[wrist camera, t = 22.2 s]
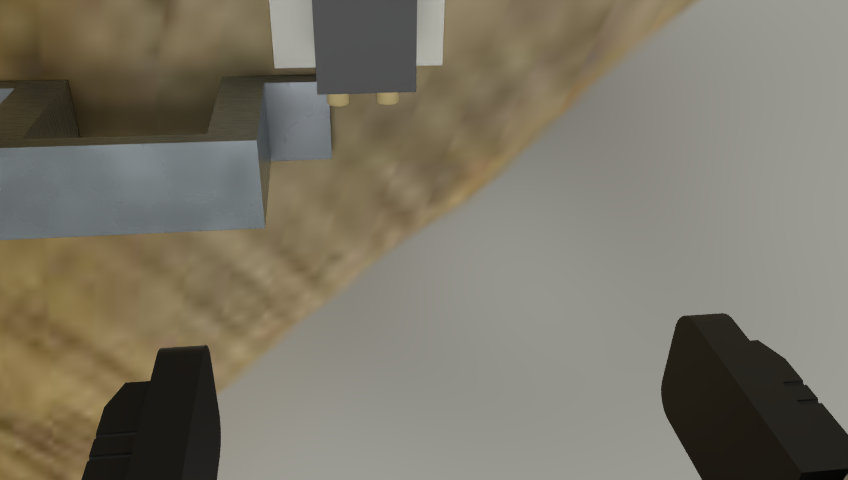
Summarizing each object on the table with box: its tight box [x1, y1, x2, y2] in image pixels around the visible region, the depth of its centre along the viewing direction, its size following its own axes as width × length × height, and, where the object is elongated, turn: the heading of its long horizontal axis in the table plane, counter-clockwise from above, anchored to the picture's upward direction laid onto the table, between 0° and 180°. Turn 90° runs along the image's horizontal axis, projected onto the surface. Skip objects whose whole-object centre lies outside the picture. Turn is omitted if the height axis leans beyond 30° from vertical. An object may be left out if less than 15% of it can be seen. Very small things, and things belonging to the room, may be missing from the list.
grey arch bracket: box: [0, 75, 332, 240], centre depth 34 cm, size 17×4×8 cm, turn 89°
